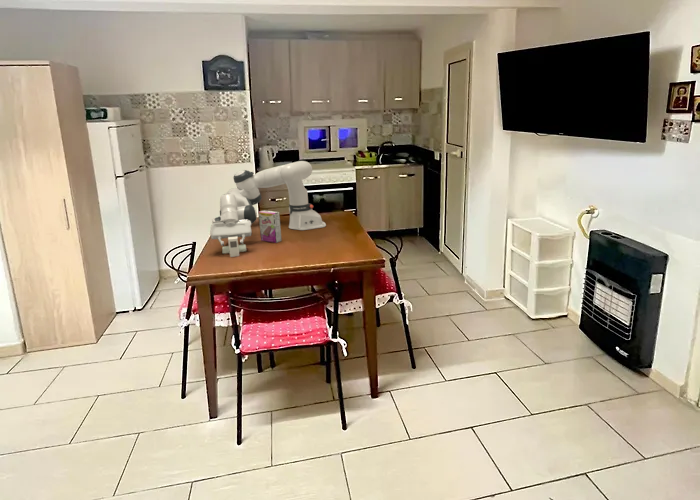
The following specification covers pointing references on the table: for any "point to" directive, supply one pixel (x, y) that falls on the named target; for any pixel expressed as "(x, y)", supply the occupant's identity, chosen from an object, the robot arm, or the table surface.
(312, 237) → the table surface
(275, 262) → the table surface
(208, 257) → the table surface
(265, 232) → the candy bar box
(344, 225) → the table surface
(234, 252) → the white device with screen
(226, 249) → the board
